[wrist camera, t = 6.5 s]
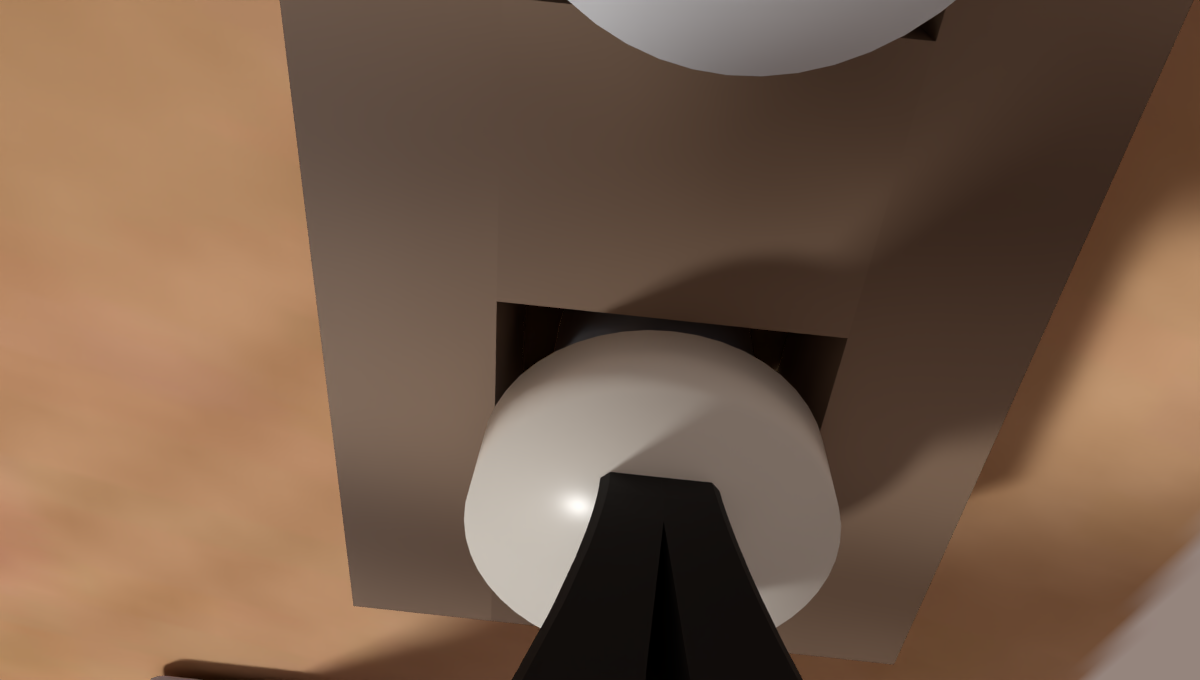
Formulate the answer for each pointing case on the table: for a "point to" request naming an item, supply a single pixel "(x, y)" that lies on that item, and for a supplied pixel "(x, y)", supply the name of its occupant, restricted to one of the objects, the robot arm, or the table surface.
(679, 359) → the knob
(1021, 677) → the table surface
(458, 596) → the knob mount
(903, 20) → the knob
